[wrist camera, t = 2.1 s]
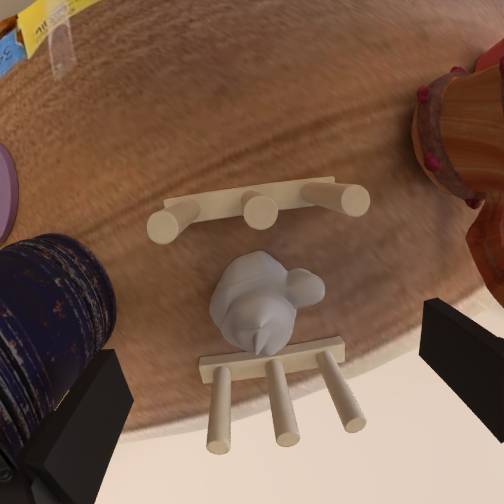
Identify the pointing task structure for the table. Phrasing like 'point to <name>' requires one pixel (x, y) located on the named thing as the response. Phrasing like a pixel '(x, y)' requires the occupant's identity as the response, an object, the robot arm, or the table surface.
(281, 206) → the rack
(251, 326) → the grey lumpy piece
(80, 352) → the dark blue barrel
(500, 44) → the flower pot
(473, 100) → the mug
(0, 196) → the purple coaster
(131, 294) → the table surface
